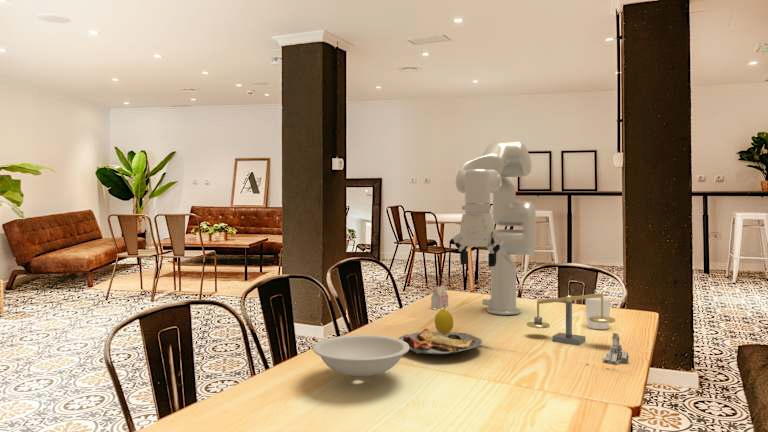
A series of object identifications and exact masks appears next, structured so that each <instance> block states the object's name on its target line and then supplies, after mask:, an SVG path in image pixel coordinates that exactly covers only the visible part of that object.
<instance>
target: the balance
mask: <svg viewBox="0 0 768 432" xmlns="http://www.w3.org/2000/svg"><path fill="white" fill-rule="evenodd" d="M599 297H601V316H592V317H589V320H590V321H593V322H599V323H609V324H612V323H615V322H616V318H614V317H612V316H611V317H610V316H609V317H605V316H603V297H604V293H602V292H601V293H591V294H584V295H574V296H573V295H570V294H569V295H566V296H565V297H558V298H557V297H556V298H547V299H540V300H536V316H534V317H533V321H528V322H526V326H527V327H529V328H533V329H547V328H550V326H551V325H550V323H548V322H544V321H543V317H541V316H540V305H541V304H543V305H544V304H549V303H551V304H553V303H558V302H559V303H561V302H565V332H558V333H555V334H554V335H552V337H551V339H552V342H556V343H563V344H570V345H575V346H581V345H582V344H583V343H585V342H586V335H578V334H573V301H578V300H585V299H589V298H599Z"/></svg>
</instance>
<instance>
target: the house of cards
mask: <svg viewBox="0 0 768 432" xmlns="http://www.w3.org/2000/svg"><path fill="white" fill-rule="evenodd" d="M611 340H612V345H610V349H609V351H607V352H606V354H605V357H603V358H602V363H604V364H611V365H615V366H618V365H619V364H627V363H629V358H630V357H629V352H628V351H626V350H623V347H622V344H620V335H619V333H615V332H613V333H612V337H611Z"/></svg>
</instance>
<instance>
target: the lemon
mask: <svg viewBox="0 0 768 432" xmlns="http://www.w3.org/2000/svg"><path fill="white" fill-rule="evenodd" d="M434 326H435V329H436V330H437V332H440V333H442V334H443V335H447V333H449V332H451V331H452V330H453V328H454V318H453V315H452V314H451V313H450V311H448V310H446V308H444V309H441V310H438V312H437V313H436V315H435V318H434Z"/></svg>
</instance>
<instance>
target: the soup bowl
mask: <svg viewBox="0 0 768 432" xmlns="http://www.w3.org/2000/svg"><path fill="white" fill-rule="evenodd" d="M409 348H410V347H409V344H408V343H406V342H405V341H403V340H400V339H399V338H397V337H392V336H387V335H376V334H352V335H351V334H349V335H340V336H335V337H329V338H325V339H322V340H320V341H318V342H316V343H315V344H314V345H313V346H312V351H313V353H315V355H317V356H319V357H320V359H321V360H322V362H323V363H324V364H325V365H326V366H327V367H328V368H330V369H331V370H332V371H334V372H336V373H338V374H341V375H346V376H350V377H369V376H370V377H371V376H376V375H379V374H382V373H385V372H387V371H389V370H391V369H392V368H394V367H395V366H396V365H397V364H398V362H399V361H400V360H401V358H402V357H403V355H405V354H407V353H408V352H410V351H409V350H410V349H409Z"/></svg>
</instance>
